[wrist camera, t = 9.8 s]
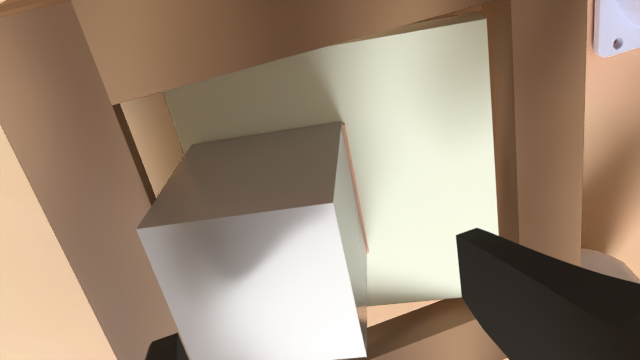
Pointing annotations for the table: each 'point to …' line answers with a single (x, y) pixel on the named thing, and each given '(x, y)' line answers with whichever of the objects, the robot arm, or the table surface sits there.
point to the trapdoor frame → (248, 51)
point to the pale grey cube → (263, 248)
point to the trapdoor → (381, 138)
